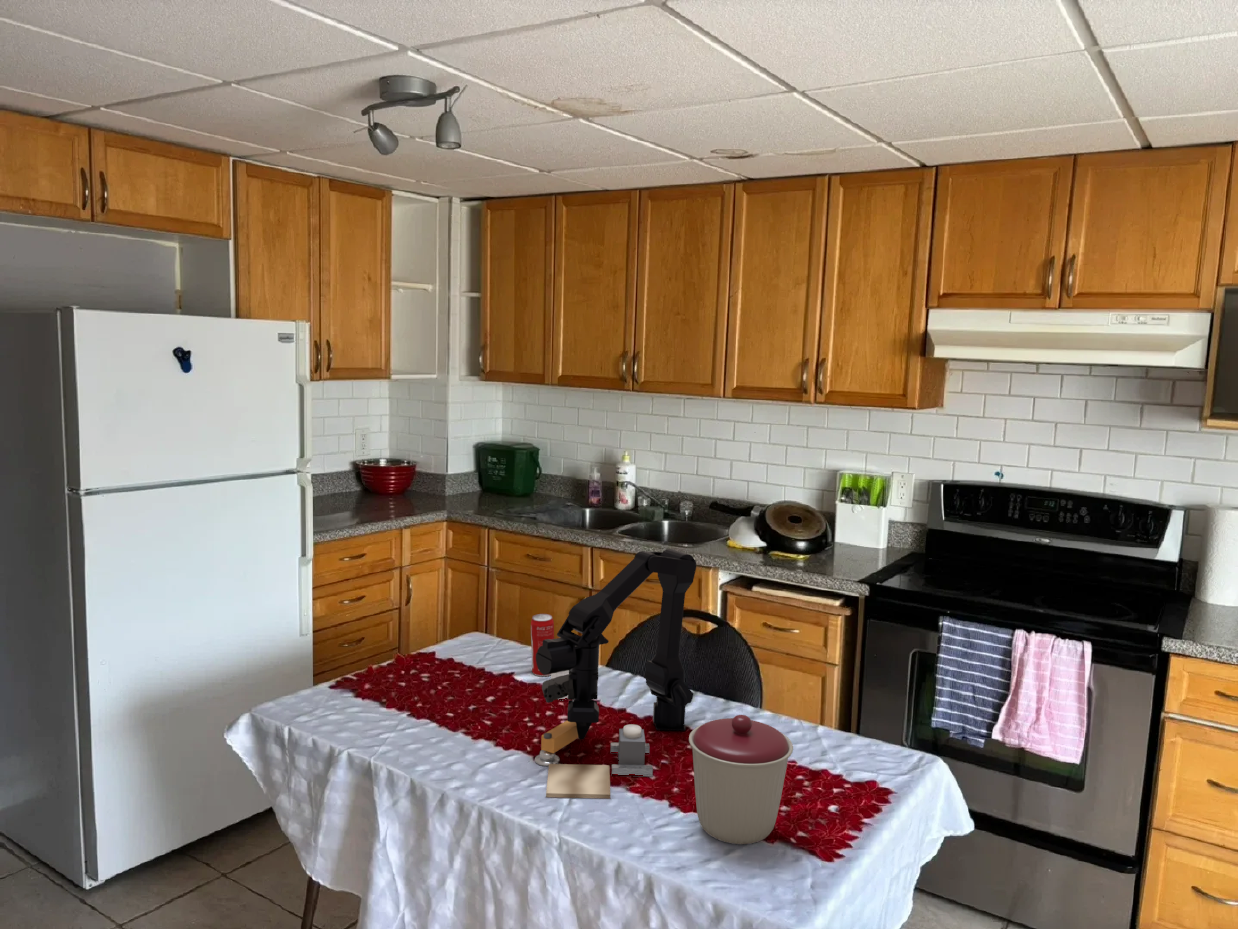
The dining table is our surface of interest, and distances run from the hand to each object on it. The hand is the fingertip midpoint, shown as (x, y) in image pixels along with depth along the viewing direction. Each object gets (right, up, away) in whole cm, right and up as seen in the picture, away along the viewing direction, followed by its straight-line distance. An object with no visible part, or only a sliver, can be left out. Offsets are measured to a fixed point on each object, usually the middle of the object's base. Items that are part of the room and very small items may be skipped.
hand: (581, 739), depth 194 cm
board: (0, -5, -13) cm, 14 cm away
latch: (-4, -1, 0) cm, 4 cm away
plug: (+10, -4, -4) cm, 12 cm away
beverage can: (-12, +4, +44) cm, 46 cm away
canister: (+28, -8, -28) cm, 41 cm away
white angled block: (-5, +1, +30) cm, 31 cm away
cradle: (+2, -3, -4) cm, 6 cm away
